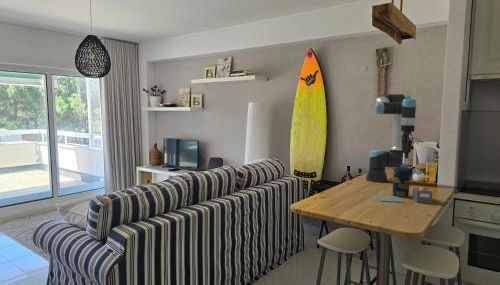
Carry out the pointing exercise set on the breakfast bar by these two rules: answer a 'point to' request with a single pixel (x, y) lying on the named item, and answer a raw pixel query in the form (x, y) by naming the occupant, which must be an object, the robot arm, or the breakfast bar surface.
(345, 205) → the breakfast bar surface
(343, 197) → the breakfast bar surface
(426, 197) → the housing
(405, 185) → the canister
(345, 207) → the breakfast bar surface
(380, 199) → the mat
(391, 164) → the robot arm
